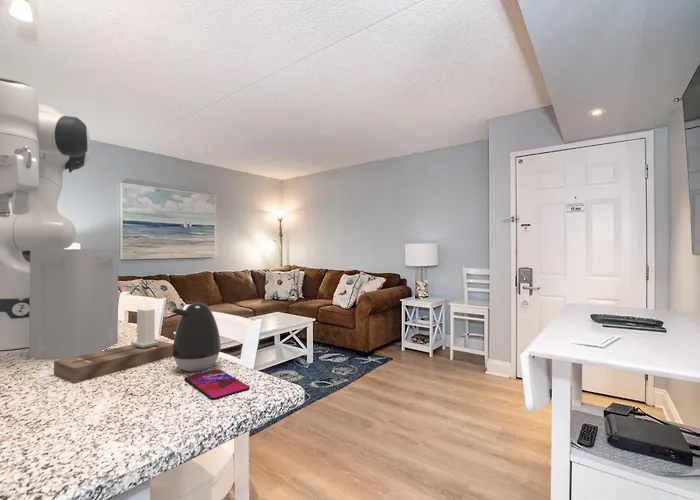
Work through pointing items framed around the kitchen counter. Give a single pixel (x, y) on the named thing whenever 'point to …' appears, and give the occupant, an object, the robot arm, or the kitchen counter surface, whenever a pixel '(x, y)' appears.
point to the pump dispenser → (196, 338)
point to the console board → (110, 361)
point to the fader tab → (145, 328)
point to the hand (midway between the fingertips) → (11, 215)
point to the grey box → (72, 302)
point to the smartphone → (216, 384)
